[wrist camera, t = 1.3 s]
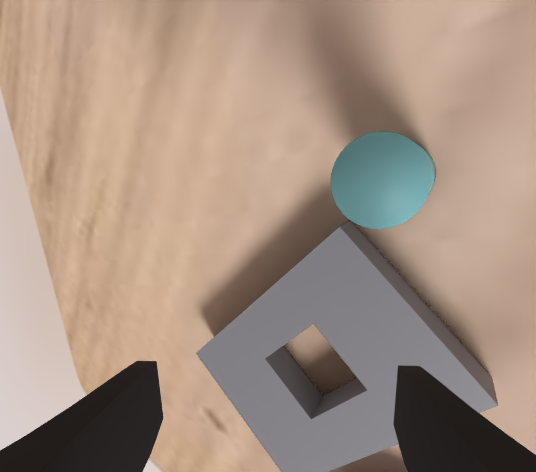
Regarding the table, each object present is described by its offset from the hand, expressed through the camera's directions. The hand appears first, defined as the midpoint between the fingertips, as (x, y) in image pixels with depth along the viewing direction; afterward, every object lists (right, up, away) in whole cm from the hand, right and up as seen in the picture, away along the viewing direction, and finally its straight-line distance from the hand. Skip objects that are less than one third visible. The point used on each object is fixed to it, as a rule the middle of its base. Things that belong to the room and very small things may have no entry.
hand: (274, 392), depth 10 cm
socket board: (+4, -4, +14) cm, 15 cm away
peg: (+7, +8, +9) cm, 14 cm away
